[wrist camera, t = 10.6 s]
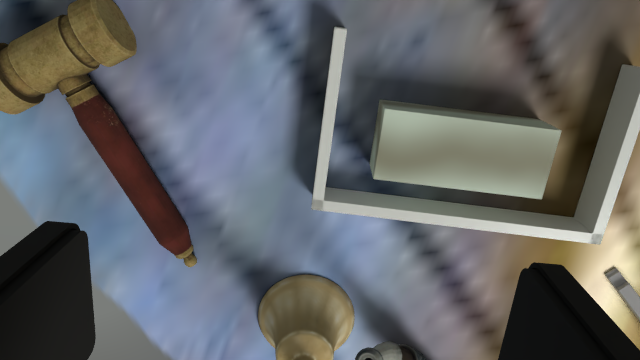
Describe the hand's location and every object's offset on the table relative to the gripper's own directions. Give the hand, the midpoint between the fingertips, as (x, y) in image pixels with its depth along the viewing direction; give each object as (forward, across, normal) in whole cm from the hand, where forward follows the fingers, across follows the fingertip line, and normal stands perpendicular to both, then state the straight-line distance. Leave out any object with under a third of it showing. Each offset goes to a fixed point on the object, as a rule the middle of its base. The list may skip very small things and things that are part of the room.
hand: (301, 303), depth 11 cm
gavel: (+28, +14, +6) cm, 32 cm away
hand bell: (+27, -1, +19) cm, 33 cm away
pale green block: (+28, -10, +3) cm, 30 cm away
